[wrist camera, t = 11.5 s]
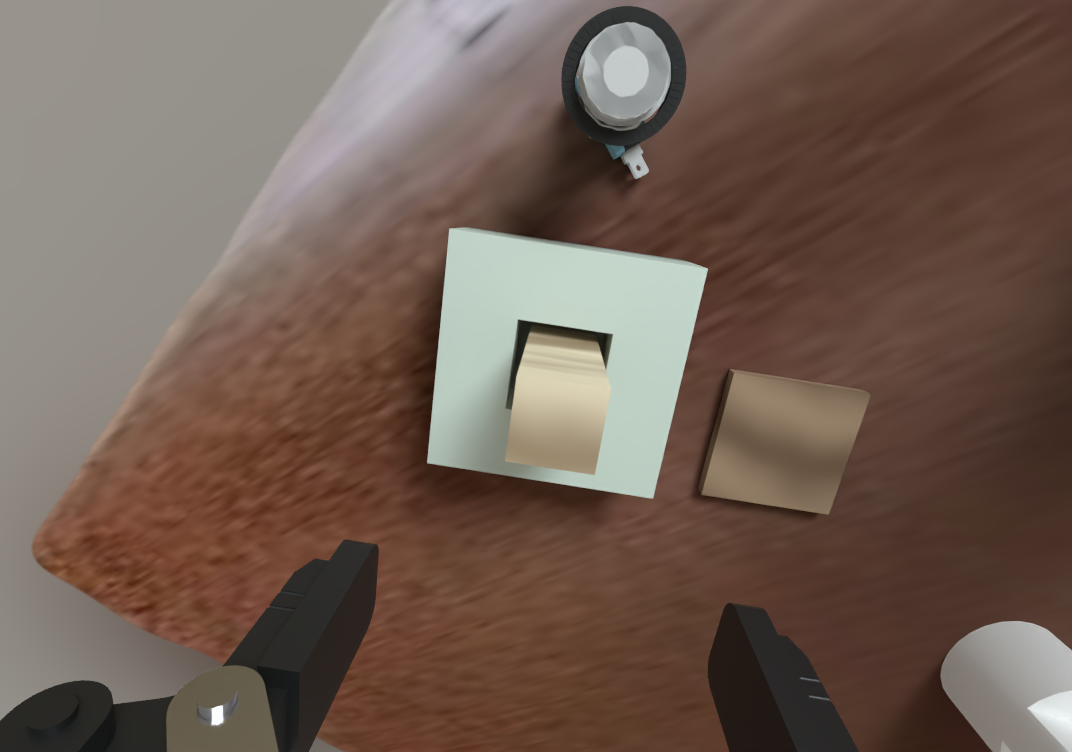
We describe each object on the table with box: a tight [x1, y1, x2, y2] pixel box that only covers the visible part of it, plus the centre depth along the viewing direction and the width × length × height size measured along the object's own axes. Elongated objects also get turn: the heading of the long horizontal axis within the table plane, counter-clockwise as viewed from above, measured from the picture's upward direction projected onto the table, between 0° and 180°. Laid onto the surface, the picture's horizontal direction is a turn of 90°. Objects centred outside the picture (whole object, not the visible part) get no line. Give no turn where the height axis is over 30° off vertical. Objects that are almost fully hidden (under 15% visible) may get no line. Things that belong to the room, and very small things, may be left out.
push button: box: [562, 6, 686, 179], centre depth 27 cm, size 7×5×10 cm
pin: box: [505, 322, 611, 475], centre depth 28 cm, size 4×4×12 cm
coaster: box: [698, 369, 871, 515], centre depth 36 cm, size 9×9×1 cm
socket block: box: [427, 227, 708, 498], centre depth 33 cm, size 14×14×6 cm
